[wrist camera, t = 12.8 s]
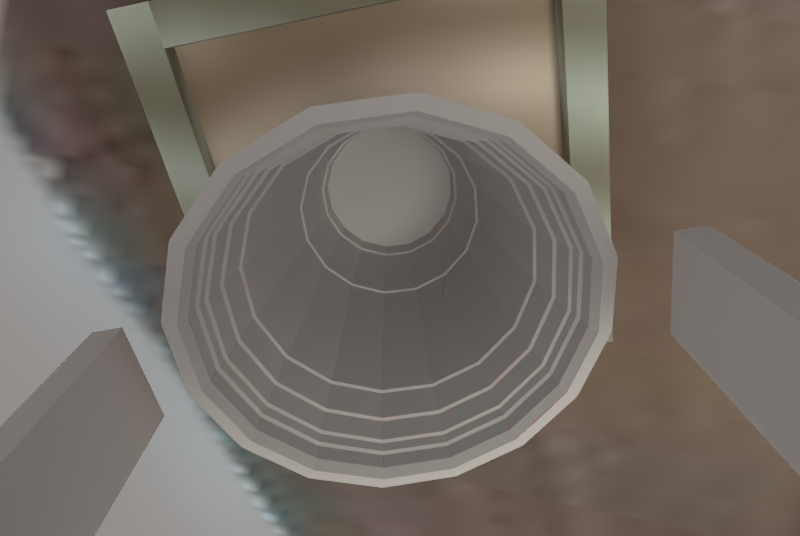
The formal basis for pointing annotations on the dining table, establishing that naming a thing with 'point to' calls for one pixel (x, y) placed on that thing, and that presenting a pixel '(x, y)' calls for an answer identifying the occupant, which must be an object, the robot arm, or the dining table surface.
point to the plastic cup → (389, 290)
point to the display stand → (364, 70)
